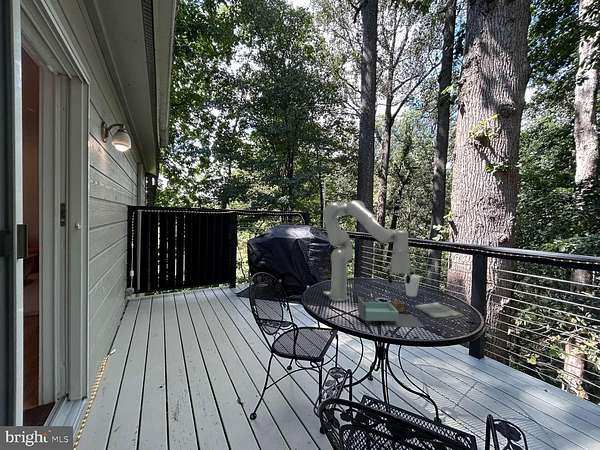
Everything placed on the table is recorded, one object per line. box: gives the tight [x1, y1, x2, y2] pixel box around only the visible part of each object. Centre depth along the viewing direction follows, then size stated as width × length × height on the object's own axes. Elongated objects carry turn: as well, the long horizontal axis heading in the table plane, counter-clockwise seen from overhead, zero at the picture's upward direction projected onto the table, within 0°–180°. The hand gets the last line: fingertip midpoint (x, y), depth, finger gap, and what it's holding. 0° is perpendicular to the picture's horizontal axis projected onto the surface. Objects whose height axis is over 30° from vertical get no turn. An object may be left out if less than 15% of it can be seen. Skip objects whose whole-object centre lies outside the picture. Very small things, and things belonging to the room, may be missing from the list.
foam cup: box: [404, 273, 421, 298], centre depth 197 cm, size 10×9×13 cm
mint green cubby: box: [357, 296, 400, 325], centre depth 152 cm, size 17×14×10 cm
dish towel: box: [414, 301, 464, 320], centre depth 167 cm, size 19×18×3 cm
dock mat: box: [384, 313, 426, 328], centre depth 153 cm, size 18×16×1 cm
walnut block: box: [391, 300, 404, 313], centre depth 167 cm, size 5×5×5 cm
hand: (399, 283), depth 166 cm, fingers open, 9 cm apart
